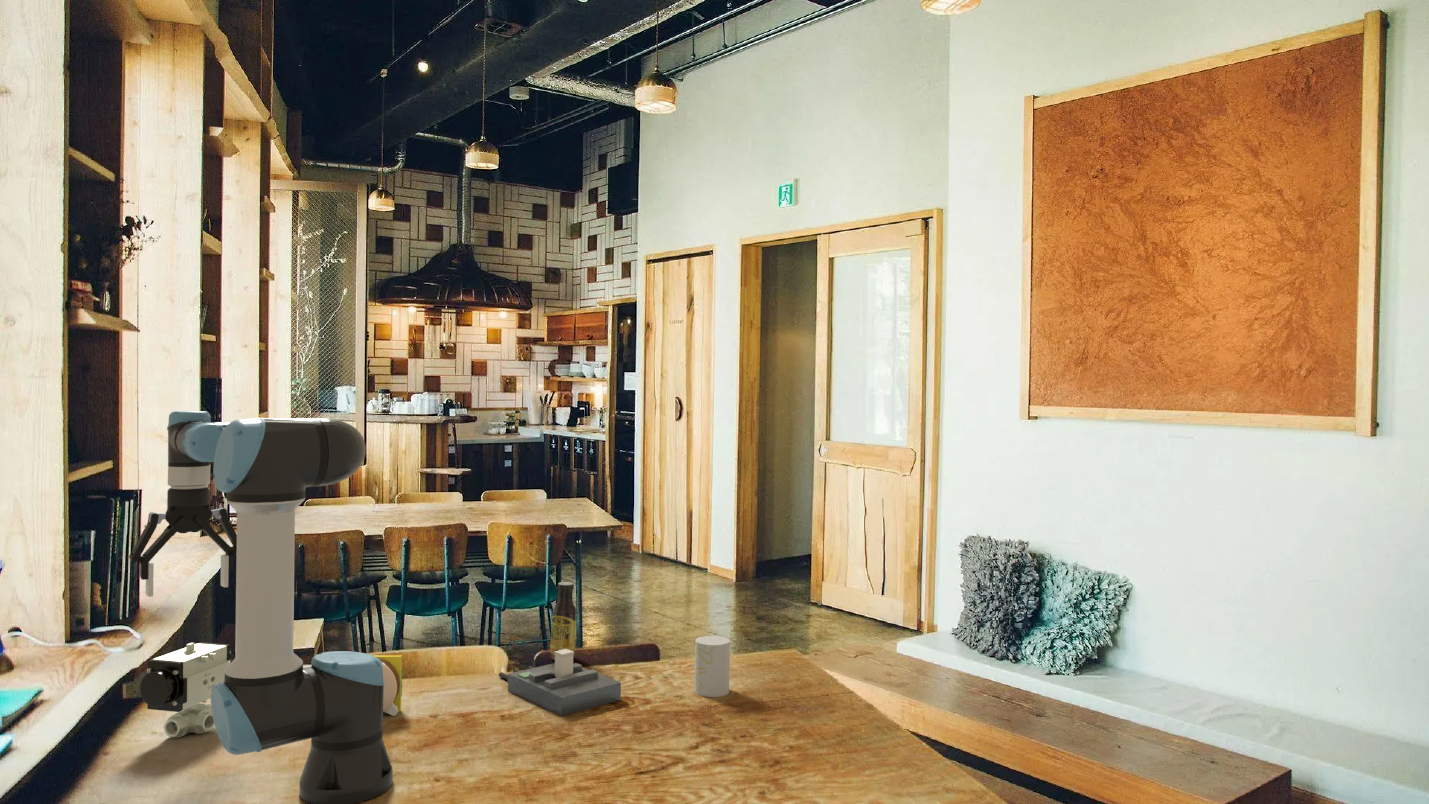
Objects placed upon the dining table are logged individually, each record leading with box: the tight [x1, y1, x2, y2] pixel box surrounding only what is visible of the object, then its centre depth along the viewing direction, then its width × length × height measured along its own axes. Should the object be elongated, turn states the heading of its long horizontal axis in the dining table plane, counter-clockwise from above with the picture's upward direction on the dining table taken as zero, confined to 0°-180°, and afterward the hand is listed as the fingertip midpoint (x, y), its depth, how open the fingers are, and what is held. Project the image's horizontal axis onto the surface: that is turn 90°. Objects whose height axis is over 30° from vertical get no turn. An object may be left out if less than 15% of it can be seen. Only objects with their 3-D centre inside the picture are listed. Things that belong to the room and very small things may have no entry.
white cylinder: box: [694, 635, 731, 698], centre depth 215 cm, size 8×8×12 cm
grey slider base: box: [498, 662, 622, 717], centre depth 213 cm, size 32×16×5 cm, turn 43°
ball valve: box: [139, 641, 235, 738], centre depth 184 cm, size 18×8×18 cm, turn 168°
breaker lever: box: [554, 649, 575, 678], centre depth 210 cm, size 3×3×6 cm
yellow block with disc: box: [372, 654, 403, 717], centre depth 196 cm, size 12×8×12 cm
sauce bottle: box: [549, 581, 577, 661], centre depth 238 cm, size 6×6×20 cm
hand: (187, 590), depth 186 cm, fingers open, 13 cm apart
